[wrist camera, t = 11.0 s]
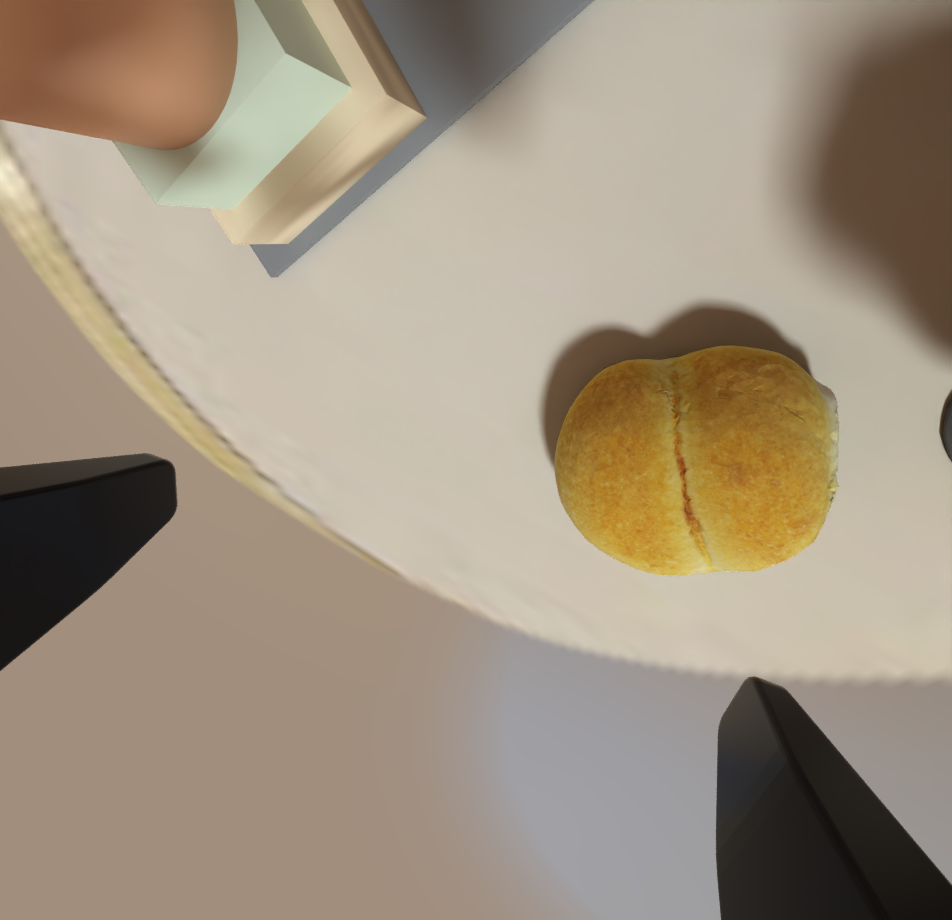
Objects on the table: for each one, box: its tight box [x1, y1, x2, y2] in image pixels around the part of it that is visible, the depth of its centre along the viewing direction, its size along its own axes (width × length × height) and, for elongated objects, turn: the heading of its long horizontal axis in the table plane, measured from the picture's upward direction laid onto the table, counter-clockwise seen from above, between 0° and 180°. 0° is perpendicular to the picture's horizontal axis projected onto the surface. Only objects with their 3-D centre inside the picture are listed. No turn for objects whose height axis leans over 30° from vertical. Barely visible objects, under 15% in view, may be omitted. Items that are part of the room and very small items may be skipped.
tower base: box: [209, 0, 427, 244], centre depth 16 cm, size 7×7×3 cm
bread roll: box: [554, 345, 839, 576], centre depth 17 cm, size 8×9×4 cm
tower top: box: [113, 0, 352, 210], centre depth 14 cm, size 6×6×3 cm
